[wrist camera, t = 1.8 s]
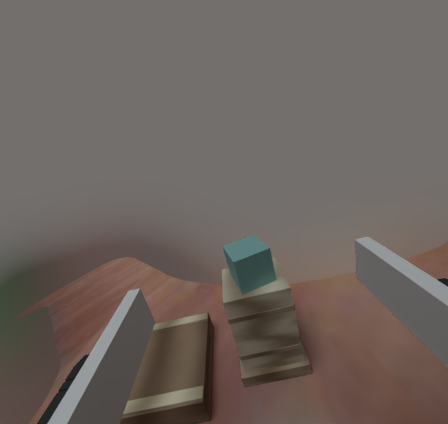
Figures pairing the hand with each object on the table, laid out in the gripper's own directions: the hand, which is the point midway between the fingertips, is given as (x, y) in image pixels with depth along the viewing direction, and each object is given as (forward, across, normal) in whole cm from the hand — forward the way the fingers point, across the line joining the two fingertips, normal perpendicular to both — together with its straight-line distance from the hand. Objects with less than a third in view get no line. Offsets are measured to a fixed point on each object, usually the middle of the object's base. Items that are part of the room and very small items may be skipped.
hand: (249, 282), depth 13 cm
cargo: (+10, 0, -7) cm, 12 cm away
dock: (+10, -14, -19) cm, 25 cm away
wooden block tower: (+10, 0, -19) cm, 21 cm away
